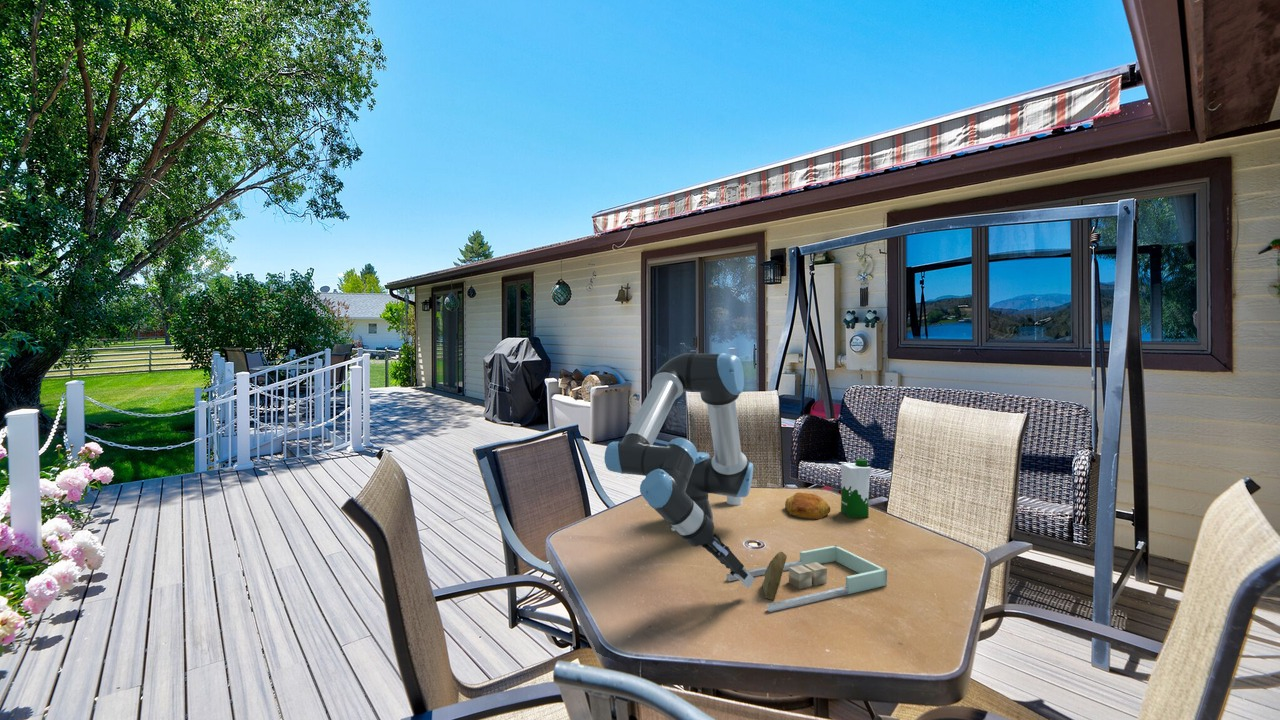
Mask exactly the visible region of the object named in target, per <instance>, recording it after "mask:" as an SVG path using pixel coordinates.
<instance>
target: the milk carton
mask: <svg viewBox="0 0 1280 720" xmlns="http://www.w3.org/2000/svg"><path fill="white" fill-rule="evenodd" d="M868 464H869V463H868V459H866V458H856V459H855V462H853V463H852V462H848V463H840V465H841V466H840V467H841V492H840V512H842V514H844V515H846V516H847V517H848V518H850V519H851V518H857V519H858V518H869V513H870V511H869V507H870V506H869V504H870V503H869V501H870V499H869V497H870V477H871V473H872V467H870V466H869V465H868Z"/></svg>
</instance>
